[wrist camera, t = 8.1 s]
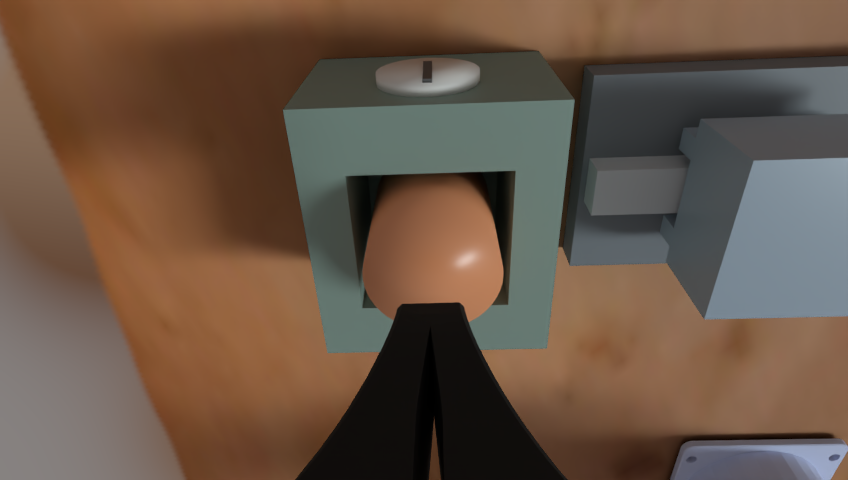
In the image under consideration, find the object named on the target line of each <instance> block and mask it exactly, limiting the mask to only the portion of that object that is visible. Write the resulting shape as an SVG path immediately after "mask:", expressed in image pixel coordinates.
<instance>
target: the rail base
mask: <svg viewBox="0 0 848 480" xmlns="http://www.w3.org/2000/svg"><path fill="white" fill-rule="evenodd" d="M828 114H848V56H825V57H798V58H772V59H745V60H718V61H691V62H664V63H637V64H610V65H585V66H584V74H583V83H582V91H581V100H580V108H579V117H578V125H577V134H576V142H575V151H574V159H573V168H572V176H571V185H570V193H569V202H568V210H567V219H566V227H565V236H564V244H563V249H564V252H565V255H566V257H567V260H568V262H569V265H570V266H579V265H618V264H657V263H667V262H666V259H667V254H668V250H669V245H668V244H667V242H666V241H665V239H664V238H663V236H662V235H661V234H660V229H661V224H662V220H663V216H664V215H677V213H678V209H679V205H680V201H681V197H682V193H683V189H684V185H685V181H686V177H687V172H688V168H689V164H690V159H689V158H688V157H686V156H685V155H684V154H683V153H682V152H681V151H680V150H679V146H680V141H681V137H682V132H683V128H690V127H699V123H700V119H710V118H739V117H769V116H798V115H828Z"/></svg>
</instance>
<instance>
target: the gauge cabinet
mask: <svg viewBox="0 0 848 480" xmlns="http://www.w3.org/2000/svg"><path fill="white" fill-rule="evenodd" d="M574 102H575V99H574V98H573V97H572V95H571V94H570V93H569V91H568V90H567V88H566V87H565V86H564V84H563V83H562V82H561V80H560V79H559V78H558V76H557V75H556V74H555V72H554V71H553V70H552V68H551V67H550V66H549V64H548V63H547V62H546V60H545V59H544V58H543V56H542V55H541V53H540V52H539V51H529V52H503V53H477V54H450V55H424V56H398V57H372V58H345V59H320V60H319V61H318V62H317V64H316V65H315V67H314V68H313V69H312V71H311V72H310V73H309V75H308V76H307V77H306V79H305V80H304V82H303V83H302V84H301V86H300V87H299V88H298V90H297V91H296V93H295V94H294V95H293V97H292V98H291V99H290V101H289V102H288V103H287V105H286V106H285V108H284V109H283V113H284V119H285V124H286V130H287V135H288V141H289V146H290V151H291V157H292V162H293V168H294V173H295V179H296V184H297V189H298V195H299V200H300V206H301V211H302V216H303V222H304V227H305V233H306V238H307V244H308V249H309V254H310V260H311V265H312V271H313V276H314V282H315V287H316V292H317V298H318V303H319V309H320V314H321V319H322V325H323V330H324V336H325V341H326V347H327V352H328V353H350V352H380V351H381V349H382V347H383V345H384V343H385V340H386V338H387V336H388V334H389V331H390V329H391V326H392V324H393V321H394V320H392V319H390V318H389V317H387V316H386V315H385V314H383V313H382V312H381V311H380V310H379V309H378V308H377V307H376V306H375V305H374V304H373V302H372V301H371V300H370V298H369V296H368V294H367V292H366V289H365V287H364V282H363V274H362V270H363V263H364V257H365V252H366V247H367V242H368V236H369V231H370V226H371V221H372V215H373V210H374V205H375V200H376V194H377V189H378V185H379V182H380V180H381V177H382V176H383V175H393V174H425V173H457V172H481V173H482V175H483V177H484V179H485V181H486V184H487V188H488V193H489V198H490V203H491V208H492V213H493V218H494V223H495V228H496V234H497V239H498V244H499V249H500V254H501V259H502V264H503V283H502V286H501V290H500V292H499V294H498V296H497V298H496V299H495V301H494V302H493V304H492V305H491V306H490V307H489V308H488V309H487V310H486V311H485V312H484V313H483V314H481V315H480V316H479V317H477V318H476V319H474V320H472V321H470V322H469V325H470V327H471V330H472V332H473V335H474V337H475V339H476V342H477V344H478V346H479V348H480V350H494V349H542V348H547V343H548V334H549V325H550V316H551V307H552V298H553V289H554V280H555V271H556V262H557V253H558V245H559V236H560V227H561V218H562V209H563V200H564V191H565V182H566V173H567V164H568V155H569V146H570V137H571V128H572V120H573V111H574Z"/></svg>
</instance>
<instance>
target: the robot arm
mask: <svg viewBox="0 0 848 480" xmlns="http://www.w3.org/2000/svg"><path fill="white" fill-rule="evenodd" d="M434 419H435V428H436V437H437V447H438V456H439V465H440V474H441V480H567V479H566V477H565V476H564V475H563V474H562V473H561V472H560V471H559V469H558V468H557V467H556V466H555V464H554V463H553V462H552V461H551V459H550V458H549V457H548V456H547V454H546V453H545V452H544V451H543V449H542V448H541V447H540V445H539V444H538V443H537V441H536V440H535V439H534V437H533V436H532V434H531V433H530V432H529V430H528V429H527V428H526V426H525V425H524V423H523V422H522V420H521V419H520V417H519V416H518V414H517V413H516V411H515V410H514V408H513V407H512V405H511V404H510V402H509V400H508V399H507V397H506V396H505V394H504V392H503V391H502V389H501V387H500V386H499V384H498V382H497V381H496V379H495V377H494V375H493V373H492V371H491V370H490V368H489V366H488V364H487V362H486V360H485V358H484V356H483V354H482V352H481V350H480V348H479V346H478V344H477V342H476V339H475V337H474V335H473V332H472V330H471V327H470V325H469V322H468V319H467V316H466V312H465V308H464V306H463V305H462V304H461V303H459V302H453V303H412V304H402V305H400V306H399V307H398V308H397V312H396V315H395V318H394V321H393V324H392V326H391V329H390V331H389V334H388V336H387V338H386V340H385V343H384V345H383V347H382V349H381V351H380V353H379V355H378V357H377V359H376V361H375V363H374V365H373V367H372V369H371V371H370V372H369V374H368V376H367V378H366V380H365V381H364V383H363V385H362V386H361V388H360V390H359V391H358V393H357V395H356V396H355V398H354V400H353V401H352V403H351V405H350V406H349V408H348V410H347V411H346V413H345V414H344V416H343V417H342V419H341V420H340V422H339V423H338V425H337V426H336V427H335V429H334V430H333V432H332V433H331V434H330V436H329V437H328V439H327V440H326V441H325V443H324V444H323V445H322V447H321V448H320V449H319V451H318V452H317V453H316V454H315V456H314V457H313V458H312V459H311V461H310V462H309V463H308V464H307V466H306V467H305V468H304V469H303V471H302V472H301V473H300V474H299V476H298V477H297V478H296V479H295V480H429V469H430V458H431V446H432V435H433V423H434ZM847 451H848V446H847V444H846V443H845V442H844V441H843V440H842V439H836V438H834V439H770V440H705V441H688V442H685V443H684V444H683V445H682V446H681V448H680V451H679V454H678V457H677V460H676V463H675V466H674V469H673V472H672V475H671V478H670V480H830V479H831V478H832V476H833V474H834V473H835V471H836V469H837V468H838V466H839V464H840V463H841V461H842V459H843V458H844V456H845V454H846V453H847Z"/></svg>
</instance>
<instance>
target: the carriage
mask: <svg viewBox="0 0 848 480" xmlns="http://www.w3.org/2000/svg"><path fill="white" fill-rule="evenodd" d="M679 150H680V151H681V152H682V153H683V154H684V155H685V156H686V157H688V158H689V159H690V164H689V168H688V172H687V177H686V181H685V185H684V189H683V193H682V197H681V201H680V205H679V209H678V213H677V215H664V216H663V220H662V224H661V229H660V234H661V235H662V236H663V238H664V239H665V241H666V242H667V244H668V245H669V250H668V254H667V259H666V262H667V264H668V265H669V267H670V268H671V270H672V271H673V273H674V274H675V276H676V277H677V279H678V280H679V282H680V283H681V285H682V286H683V288H684V290H685V291H686V293H687V294H688V296H689V297H690V299H691V300H692V302H693V303H694V305H695V306H696V308H697V309H698V311H699V312H700V314H701V315H702V317H703V318H704V319H741V318H786V317H831V316H848V114H828V115H798V116H769V117H739V118H710V119H700V123H699V127H690V128H683V132H682V137H681V141H680V146H679Z"/></svg>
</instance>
